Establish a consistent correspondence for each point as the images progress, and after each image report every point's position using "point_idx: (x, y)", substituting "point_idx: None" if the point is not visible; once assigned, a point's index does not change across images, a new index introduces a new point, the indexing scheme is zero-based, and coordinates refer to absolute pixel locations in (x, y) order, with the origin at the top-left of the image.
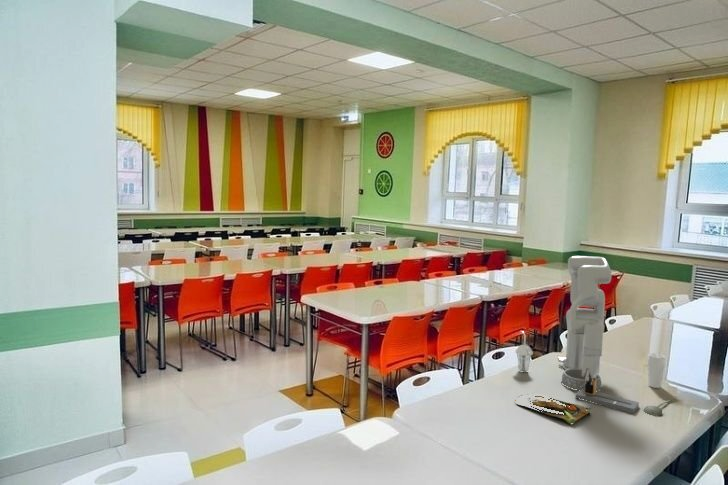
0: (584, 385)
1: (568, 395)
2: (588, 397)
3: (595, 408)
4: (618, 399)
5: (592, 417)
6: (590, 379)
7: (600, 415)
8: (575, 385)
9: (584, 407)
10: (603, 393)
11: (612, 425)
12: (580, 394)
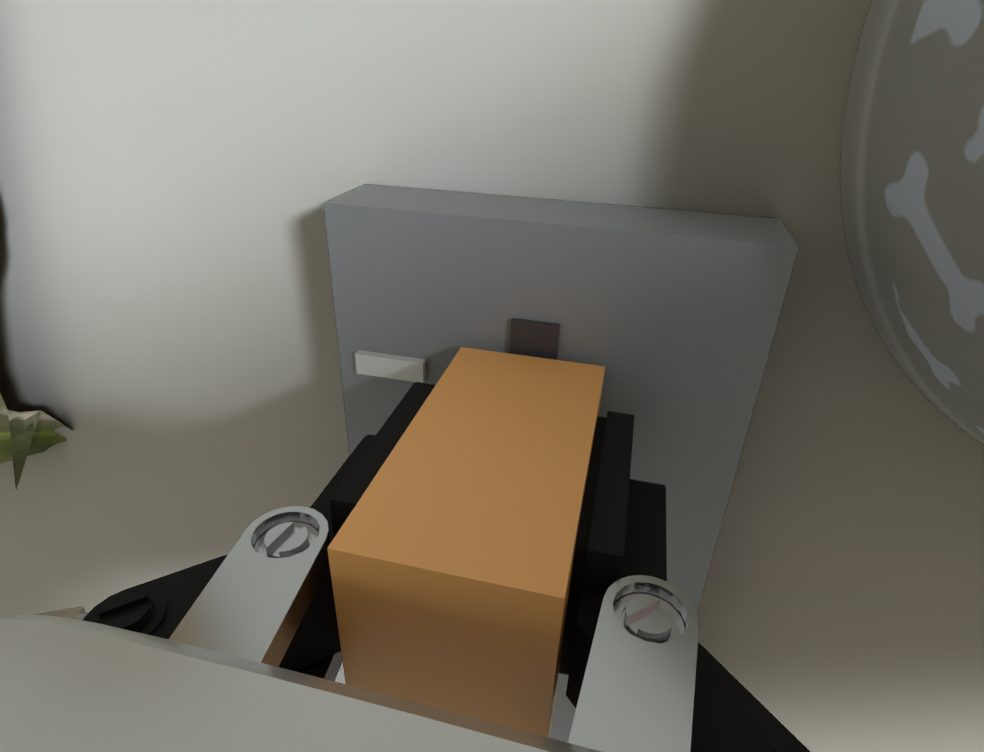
0: (945, 290)
1: (420, 7)
2: (346, 421)
3: (243, 478)
4: (566, 739)
5: (10, 467)
6: (486, 673)
7: (120, 527)
8: (943, 28)
9: (3, 408)
10: (696, 606)
11: (33, 605)
12: (374, 286)
